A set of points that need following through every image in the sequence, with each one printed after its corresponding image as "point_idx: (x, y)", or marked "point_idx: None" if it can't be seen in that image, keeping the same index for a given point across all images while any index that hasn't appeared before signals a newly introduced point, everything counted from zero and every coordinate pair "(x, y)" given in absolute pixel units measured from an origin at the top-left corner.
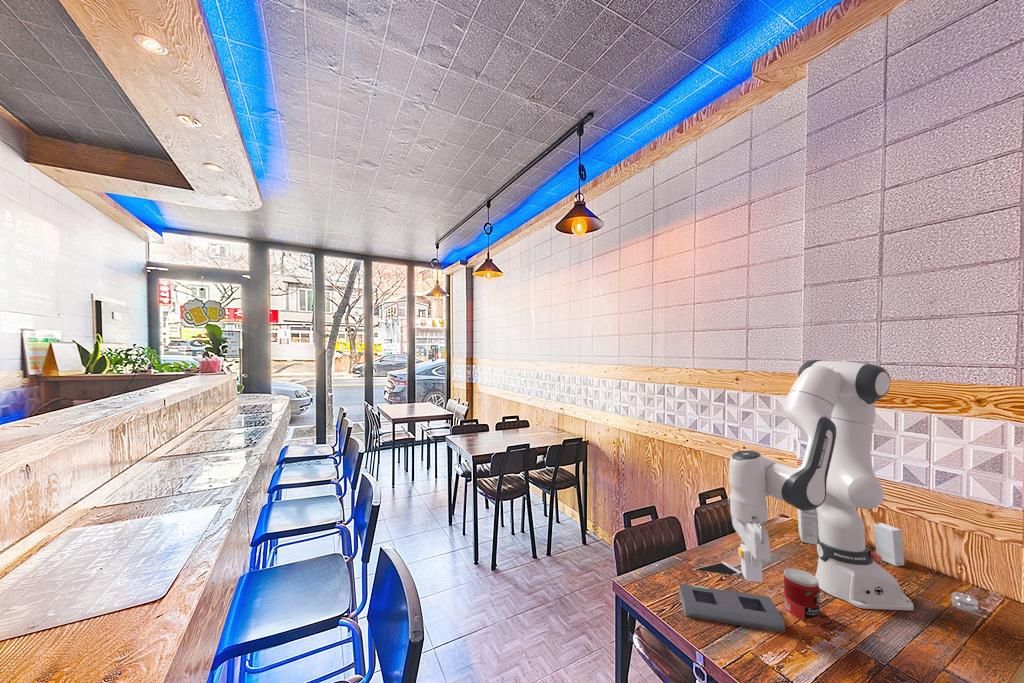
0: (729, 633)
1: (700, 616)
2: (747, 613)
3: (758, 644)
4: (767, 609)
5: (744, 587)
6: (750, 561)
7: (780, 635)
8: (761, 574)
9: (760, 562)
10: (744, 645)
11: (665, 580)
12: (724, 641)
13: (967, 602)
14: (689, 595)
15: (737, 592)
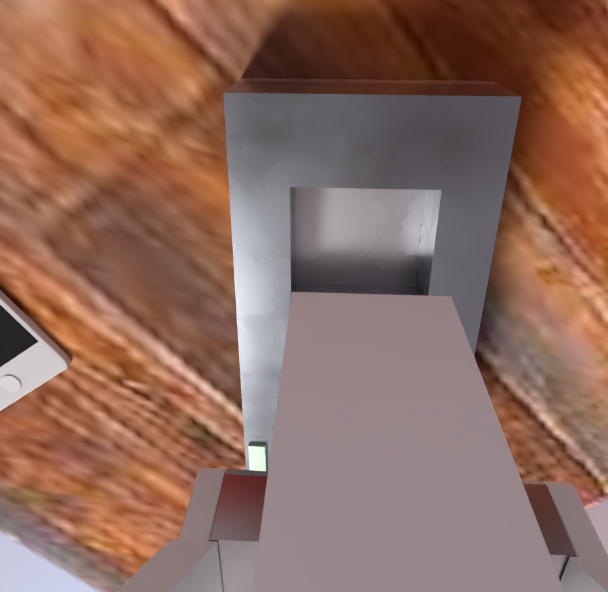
0: (499, 365)
1: None
2: (469, 314)
3: (572, 260)
4: (404, 172)
5: (11, 156)
6: None
7: None
8: (465, 350)
9: (508, 466)
10: (582, 327)
11: (138, 524)
12: (557, 399)
13: None
14: None
15: (244, 304)
